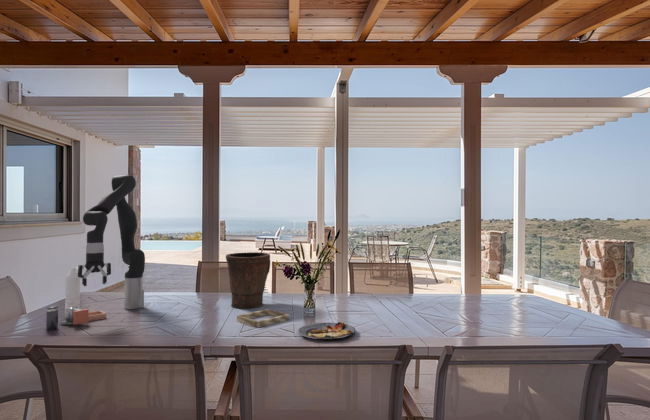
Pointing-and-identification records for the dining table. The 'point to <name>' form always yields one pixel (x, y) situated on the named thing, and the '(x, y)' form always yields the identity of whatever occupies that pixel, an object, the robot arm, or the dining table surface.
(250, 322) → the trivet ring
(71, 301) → the water bottle
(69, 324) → the base
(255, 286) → the clay pot
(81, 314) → the crank
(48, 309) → the peg
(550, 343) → the dining table surface
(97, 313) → the tray
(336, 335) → the food plate
